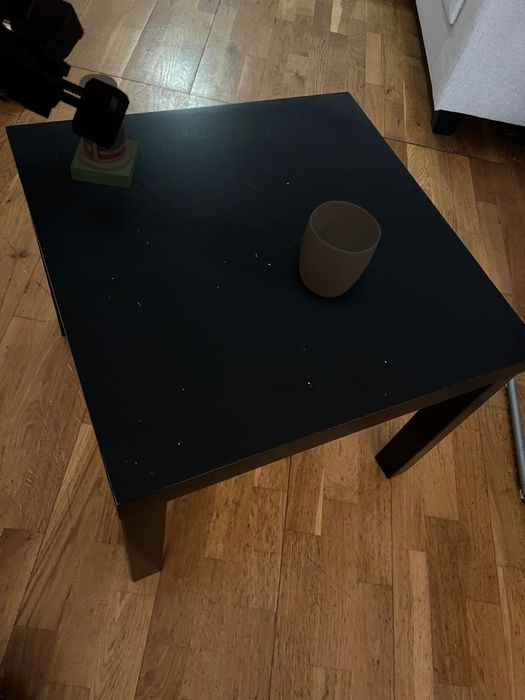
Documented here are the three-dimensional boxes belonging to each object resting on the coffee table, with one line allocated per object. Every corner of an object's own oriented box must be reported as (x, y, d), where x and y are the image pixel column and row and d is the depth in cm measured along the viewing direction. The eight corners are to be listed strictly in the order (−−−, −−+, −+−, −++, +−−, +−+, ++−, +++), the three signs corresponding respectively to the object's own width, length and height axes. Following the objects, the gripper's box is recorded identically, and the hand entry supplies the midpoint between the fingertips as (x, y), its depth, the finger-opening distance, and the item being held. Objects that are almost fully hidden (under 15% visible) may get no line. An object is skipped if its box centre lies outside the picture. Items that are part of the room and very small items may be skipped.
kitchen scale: (70, 179, 76) (68, 163, 73) (83, 144, 80) (81, 128, 78) (129, 189, 77) (128, 173, 74) (139, 154, 81) (138, 137, 79)
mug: (344, 315, 70) (369, 264, 62) (282, 287, 71) (298, 233, 63) (371, 255, 78) (397, 201, 69) (314, 230, 78) (333, 174, 70)
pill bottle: (131, 144, 78) (128, 78, 70) (118, 167, 75) (113, 101, 66) (92, 133, 78) (84, 66, 69) (77, 157, 74) (68, 89, 66)
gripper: (114, 14, 50) (172, 78, 65) (-53, -58, 52) (41, 20, 67) (72, 130, 52) (137, 165, 67) (-87, 57, 54) (11, 107, 69)
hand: (82, 112), depth 68 cm, fingers open, 9 cm apart
